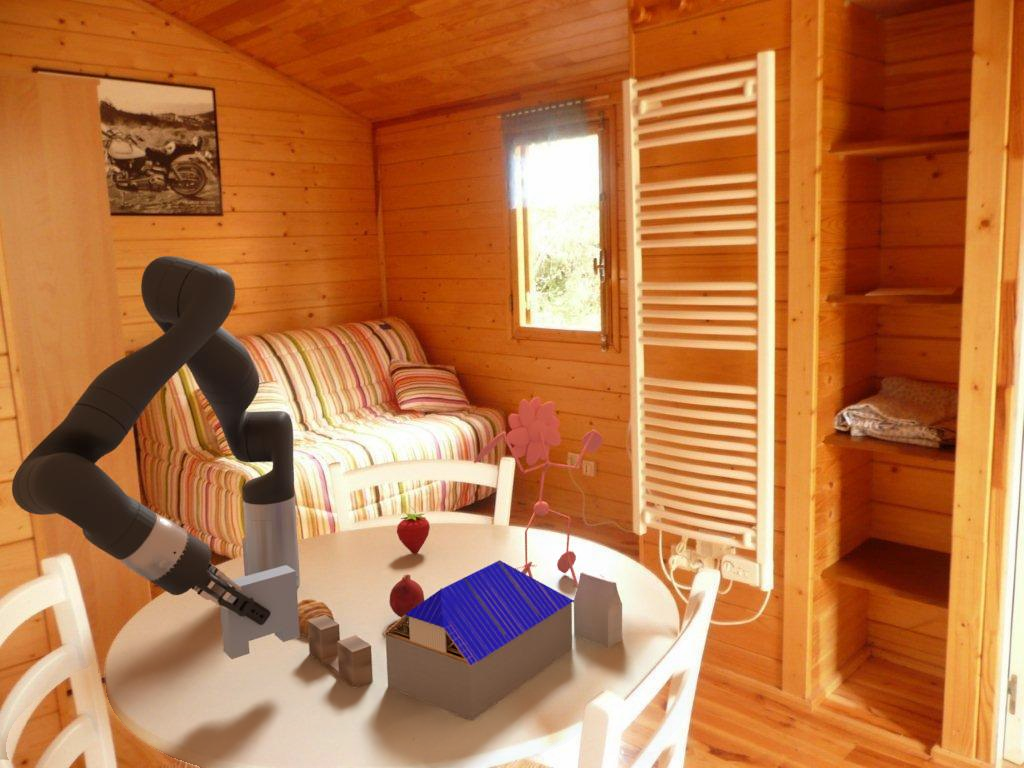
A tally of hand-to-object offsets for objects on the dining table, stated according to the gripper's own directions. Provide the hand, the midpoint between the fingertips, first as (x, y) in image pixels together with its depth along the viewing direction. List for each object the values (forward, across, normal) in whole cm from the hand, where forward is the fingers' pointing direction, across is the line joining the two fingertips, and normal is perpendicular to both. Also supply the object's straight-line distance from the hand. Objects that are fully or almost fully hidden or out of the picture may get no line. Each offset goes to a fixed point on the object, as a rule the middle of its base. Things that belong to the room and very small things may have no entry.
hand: (260, 614), depth 118 cm
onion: (+28, +6, -11) cm, 30 cm away
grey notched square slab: (+3, 0, +3) cm, 4 cm away
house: (+27, -16, -11) cm, 34 cm away
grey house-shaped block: (+41, -20, -25) cm, 52 cm away
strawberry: (+41, +31, -24) cm, 57 cm away
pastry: (+19, +14, -2) cm, 24 cm away
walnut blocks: (+16, -2, 0) cm, 16 cm away
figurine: (+47, +4, -30) cm, 56 cm away
